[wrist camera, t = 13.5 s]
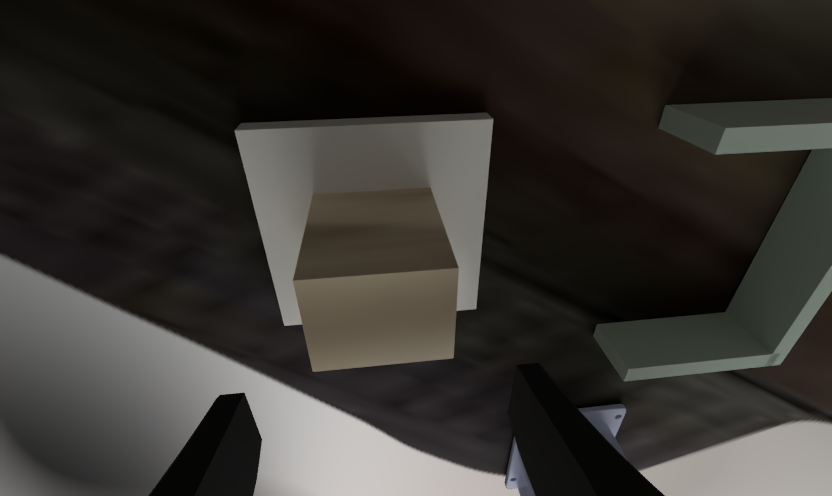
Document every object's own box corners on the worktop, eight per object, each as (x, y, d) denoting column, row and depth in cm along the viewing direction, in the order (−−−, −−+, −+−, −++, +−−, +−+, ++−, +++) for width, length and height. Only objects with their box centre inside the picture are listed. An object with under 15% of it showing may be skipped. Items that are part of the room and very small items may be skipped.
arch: (733, 322, 26) (780, 364, 23) (593, 335, 25) (623, 381, 22) (859, 96, 19) (952, 117, 16) (665, 105, 18) (725, 128, 15)
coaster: (471, 297, 22) (476, 308, 22) (287, 312, 21) (284, 325, 21) (486, 112, 17) (493, 119, 16) (241, 123, 16) (234, 130, 15)
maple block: (429, 263, 20) (453, 358, 15) (325, 271, 19) (312, 371, 14) (430, 187, 17) (458, 267, 12) (313, 194, 17) (292, 280, 12)
